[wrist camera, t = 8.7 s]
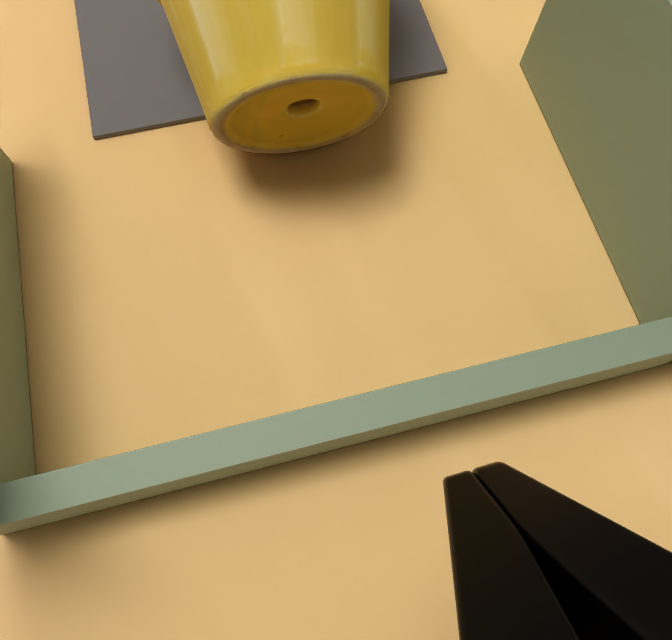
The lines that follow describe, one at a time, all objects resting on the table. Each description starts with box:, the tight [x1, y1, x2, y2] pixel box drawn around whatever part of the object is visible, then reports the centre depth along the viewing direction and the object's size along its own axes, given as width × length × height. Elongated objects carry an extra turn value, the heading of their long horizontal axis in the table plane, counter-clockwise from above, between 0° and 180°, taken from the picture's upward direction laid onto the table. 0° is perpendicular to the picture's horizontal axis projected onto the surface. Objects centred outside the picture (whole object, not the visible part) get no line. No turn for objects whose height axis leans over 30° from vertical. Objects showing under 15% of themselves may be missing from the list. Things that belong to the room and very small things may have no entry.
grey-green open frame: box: [0, 0, 672, 535], centre depth 17 cm, size 15×25×12 cm, turn 104°
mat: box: [74, 0, 447, 140], centre depth 28 cm, size 12×16×1 cm
